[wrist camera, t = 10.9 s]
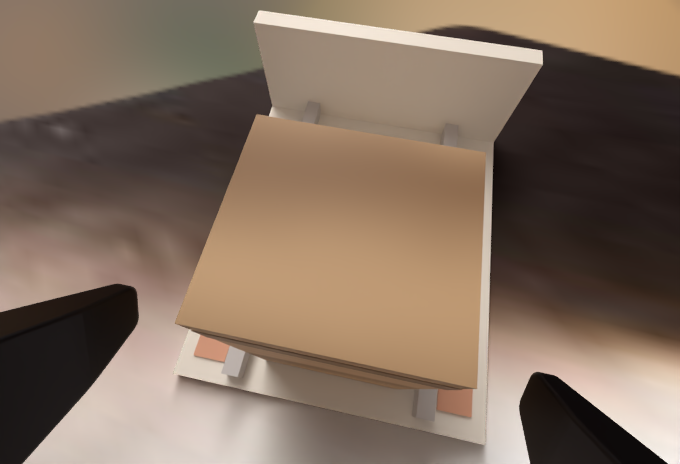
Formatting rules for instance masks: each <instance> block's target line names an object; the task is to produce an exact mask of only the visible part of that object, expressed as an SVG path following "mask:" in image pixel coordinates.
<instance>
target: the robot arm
mask: <svg viewBox="0 0 680 464" xmlns="http://www.w3.org/2000/svg"><path fill="white" fill-rule="evenodd" d="M138 318H139V313H138V299H137V291H136V289H135V288H134V287H131V286H127V285H122V284H113V285H109V286H105V287H101V288H97V289H92V290H88V291H84V292H80V293H76V294H72V295H68V296H64V297H60V298H56V299H52V300H48V301H44V302H40V303H36V304H32V305H28V306H24V307H20V308H16V309H12V310H8V311H4V312H0V464H22V463H23V462H24V461H25V460H26V459H27V458H28V457H29V456H30V455H31V453H32V452H33V451H34V450H35V449H36V448H37V447H38V446H39V444H40V443H41V442H42V441H43V440H44V439H45V438H46V437H47V435H48V434H49V433H50V432H51V431H52V430H53V429H54V428H55V427H56V425H57V424H58V423H59V422H60V421H61V420H62V419H63V418H64V416H65V415H66V414H67V413H68V412H69V411H70V410H71V409H72V407H73V406H74V405H75V404H76V403H77V402H78V401H79V400H80V399H81V397H82V396H83V395H84V394H85V393H86V392H87V390H88V389H89V388H90V387H91V386H92V385H93V383H94V382H95V381H96V379H97V378H98V377H99V376H100V374H101V373H102V372H103V370H104V369H105V368H106V366H107V365H108V364H109V362H110V361H111V360H112V358H113V357H114V356H115V354H116V353H117V352H118V350H119V349H120V347H121V346H122V345H123V343H124V342H125V341H126V339H127V338H128V337H129V335H130V334H131V333H132V331H133V330H134V329H135V327H136V325H137V323H138ZM519 410H520V416H521V421H522V426H523V431H524V436H525V440H526V445H527V450H528V455H529V460H530V464H668V463H666V462H665V461H664V460H663V459H661V458H660V457H659V456H657V455H656V454H655V453H654V452H652V451H651V450H650V449H649V448H647V447H646V446H645V445H643V444H642V443H641V442H640V441H638V440H637V439H636V438H635V437H633V436H632V435H631V434H629V433H628V432H627V431H626V430H624V429H623V428H622V427H621V426H619V425H618V424H617V423H615V422H614V421H613V420H612V419H610V418H609V417H608V416H607V415H605V414H604V413H603V412H601V411H600V410H599V409H598V408H596V407H595V406H594V405H593V404H591V403H590V402H589V401H587V400H586V399H585V398H584V397H582V396H581V395H580V394H579V393H577V392H576V391H575V390H573V389H572V388H571V387H570V386H568V385H567V384H566V383H564V382H563V381H562V380H561V379H559V378H558V377H557V376H554V375H550V374H545V373H540V372H535V373H533V374H532V375H531V377H530V379H529V382H528V384H527V386H526V388H525V391H524V393H523V395H522V398H521V400H520V405H519Z"/></svg>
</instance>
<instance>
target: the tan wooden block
mask: <svg viewBox="0 0 680 464" xmlns="http://www.w3.org/2000/svg"><path fill="white" fill-rule="evenodd" d="M485 167H486V152H480V151H474V150H468V149H462V148H456V147H450V146H444V145H438V144H432V143H426V142H420V141H414V140H408V139H402V138H396V137H390V136H384V135H378V134H372V133H366V132H360V131H354V130H348V129H342V128H336V127H330V126H324V125H318V124H312V123H306V122H300V121H294V120H288V119H282V118H276V117H270V116H264V115H256V118H255V120H254V123H253V125H252V128H251V130H250V133H249V135H248V138H247V141H246V143H245V146H244V148H243V151H242V153H241V156H240V158H239V161H238V163H237V166H236V169H235V171H234V174H233V176H232V179H231V181H230V184H229V186H228V189H227V191H226V194H225V196H224V199H223V202H222V204H221V207H220V209H219V212H218V214H217V217H216V219H215V222H214V224H213V227H212V230H211V232H210V235H209V237H208V240H207V242H206V245H205V247H204V250H203V252H202V255H201V257H200V260H199V263H198V265H197V268H196V270H195V273H194V275H193V278H192V280H191V283H190V285H189V288H188V291H187V293H186V296H185V298H184V301H183V303H182V306H181V308H180V311H179V313H178V316H177V318H176V321H175V324H178V325H180V326H183V327H185V328H188V329H190V330H191V331H192V332H195V333H197V334H200V335H202V336H205V337H207V338H212V339H215V340H217V341H220V342H222V343H225V344H227V345H230V346H232V347H234V348H237V349H239V350H242V351H244V352H247V353H249V354H252V355H254V356H257V357H259V358H262V359H264V360H267V361H272V362H276V363H281V364H285V365H290V366H294V367H299V368H303V369H308V370H312V371H317V372H321V373H326V374H331V375H335V376H340V377H344V378H349V379H353V380H358V381H362V382H367V383H371V384H376V385H380V386H385V387H389V388H394V389H444V390H462V389H477V378H478V352H479V325H480V299H481V273H482V246H483V220H484V193H485Z"/></svg>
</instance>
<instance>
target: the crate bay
mask: <svg viewBox="0 0 680 464" xmlns="http://www.w3.org/2000/svg"><path fill="white" fill-rule="evenodd" d="M253 23H254V27H255V31H256V35H257V40H258V45H259V49H260V53H261V58H262V62H263V66H264V71H265V75H266V80H267V84H268V88H269V93H270V97H271V101H272V109H271V112H270V114H269V116H270V117H276V118H282V119H288V120H294V121H300V122H306V123H312V124H318V125H324V126H330V127H336V128H342V129H348V130H354V131H360V132H366V133H372V134H378V135H384V136H390V137H396V138H402V139H408V140H414V141H420V142H426V143H432V144H438V145H444V146H450V147H456V148H462V149H468V150H474V151H480V152H486V167H485V193H484V220H483V246H482V273H481V299H480V325H479V352H478V378H477V389H462V390H444V389H394V388H389V387H385V386H380V385H376V384H371V383H367V382H362V381H358V380H353V379H349V378H344V377H340V376H335V375H331V374H326V373H321V372H317V371H312V370H308V369H303V368H299V367H294V366H290V365H285V364H281V363H276V362H272V361H267V360H264V359H262V358H259V357H257V356H254V355H252V354H249V353H247V352H244V351H242V350H239V349H237V348H234V347H232V346H230V345H227V344H225V343H222V342H220V341H217V340H215V339H212V338H207V337H205V336H202V335H200V334H197V333H195V332H192V331H191V330H190V329H189V331H188V334H187V337H186V339H185V342H184V345H183V347H182V350H181V353H180V355H179V358H178V361H177V363H176V366H175V369H174V371H173V374H177V375H181V376H185V377H190V378H194V379H198V380H203V381H207V382H212V383H216V384H220V385H225V386H229V387H233V388H238V389H242V390H246V391H251V392H255V393H260V394H264V395H268V396H273V397H277V398H281V399H286V400H290V401H294V402H299V403H303V404H307V405H312V406H316V407H321V408H325V409H329V410H334V411H338V412H342V413H347V414H351V415H355V416H360V417H364V418H369V419H373V420H377V421H382V422H386V423H390V424H395V425H399V426H403V427H408V428H412V429H416V430H421V431H425V432H430V433H434V434H438V435H443V436H447V437H451V438H456V439H460V440H464V441H469V442H473V443H478V444H482V445H485V439H486V402H487V365H488V328H489V292H490V255H491V218H492V181H493V145H494V141H495V139H496V138H497V136H498V135H499V133H500V131H501V130H502V128H503V127H504V125H505V123H506V122H507V120H508V119H509V117H510V116H511V114H512V112H513V111H514V109H515V108H516V106H517V105H518V103H519V101H520V100H521V98H522V97H523V95H524V93H525V92H526V90H527V89H528V87H529V86H530V84H531V82H532V81H533V79H534V78H535V76H536V74H537V73H538V71H539V70H540V68H541V67H542V65H543V57H542V51H541V50H534V49H527V48H520V47H513V46H506V45H499V44H492V43H485V42H478V41H470V40H463V39H456V38H449V37H442V36H435V35H428V34H421V33H414V32H407V31H400V30H393V29H386V28H379V27H372V26H365V25H358V24H351V23H343V22H336V21H329V20H323V19H316V18H309V17H302V16H294V15H288V14H280V13H273V12H266V11H258V14H257V16H256V18H255V20H254V22H253Z"/></svg>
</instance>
